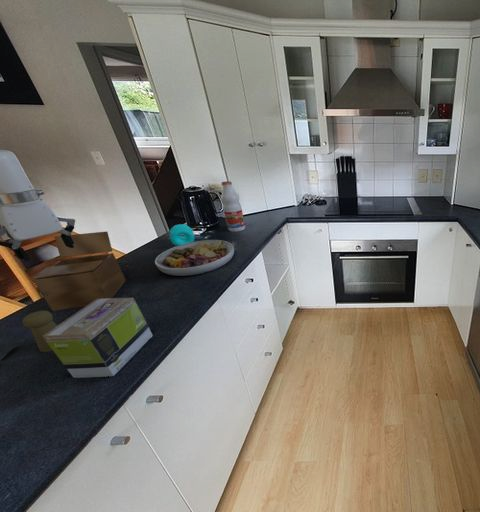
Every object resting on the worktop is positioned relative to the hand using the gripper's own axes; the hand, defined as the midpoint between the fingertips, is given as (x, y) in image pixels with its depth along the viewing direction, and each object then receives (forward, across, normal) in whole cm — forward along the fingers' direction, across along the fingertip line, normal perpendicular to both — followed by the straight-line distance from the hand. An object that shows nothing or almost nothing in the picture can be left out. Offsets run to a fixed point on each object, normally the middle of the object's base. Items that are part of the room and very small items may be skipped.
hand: (49, 253), depth 83 cm
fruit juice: (+22, -79, -16) cm, 83 cm away
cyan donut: (+22, -51, -23) cm, 60 cm away
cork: (+22, +12, +12) cm, 28 cm away
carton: (+22, -7, -9) cm, 25 cm away
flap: (+5, -13, -15) cm, 21 cm away
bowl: (+22, -40, +3) cm, 46 cm away
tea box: (+22, +7, +33) cm, 41 cm away
